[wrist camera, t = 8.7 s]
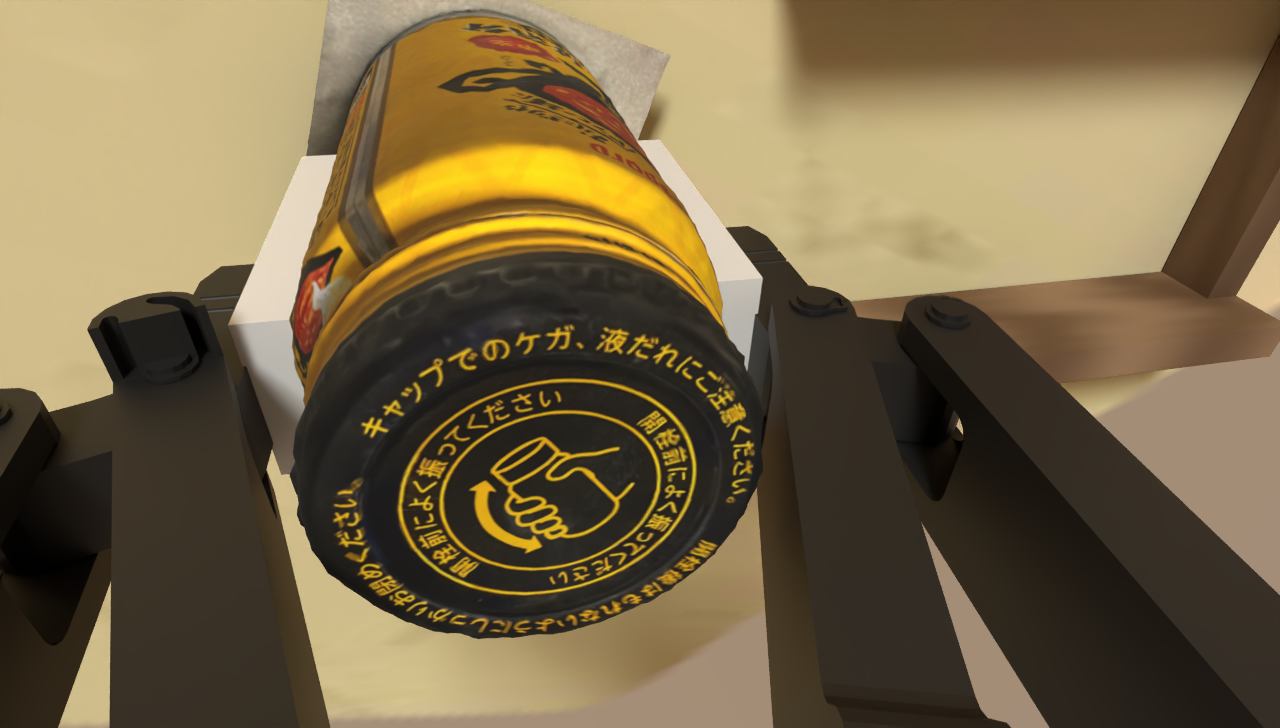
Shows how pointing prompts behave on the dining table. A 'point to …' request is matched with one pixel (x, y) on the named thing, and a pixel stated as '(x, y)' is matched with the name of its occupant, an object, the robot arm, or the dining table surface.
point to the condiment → (507, 328)
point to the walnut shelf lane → (1160, 276)
